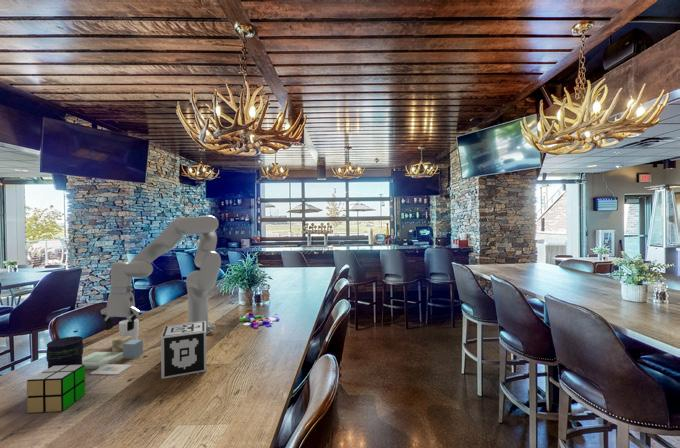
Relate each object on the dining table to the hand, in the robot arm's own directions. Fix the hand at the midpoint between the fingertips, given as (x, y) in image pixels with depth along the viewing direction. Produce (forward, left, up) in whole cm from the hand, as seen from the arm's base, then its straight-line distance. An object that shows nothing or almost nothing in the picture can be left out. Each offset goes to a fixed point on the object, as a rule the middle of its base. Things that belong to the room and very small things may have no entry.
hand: (119, 329), depth 140 cm
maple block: (0, -1, -10) cm, 10 cm away
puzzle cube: (-10, +39, -10) cm, 42 cm away
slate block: (-8, +3, -10) cm, 14 cm away
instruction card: (-9, +16, -10) cm, 21 cm away
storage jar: (-1, +27, -10) cm, 29 cm away
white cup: (+5, -12, -10) cm, 16 cm away
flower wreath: (-47, -47, -11) cm, 67 cm away
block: (-36, +12, -10) cm, 40 cm away
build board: (+3, +9, -10) cm, 14 cm away
